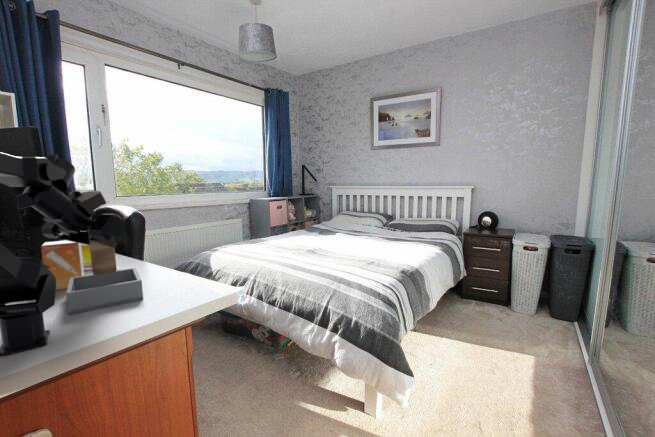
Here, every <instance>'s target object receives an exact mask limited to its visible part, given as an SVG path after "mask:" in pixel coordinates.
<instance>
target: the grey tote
mask: <svg viewBox="0 0 655 437" xmlns="http://www.w3.org/2000/svg"><path fill="white" fill-rule="evenodd" d="M65 295H66V302H67V308H68V315H75V314H80V313H84V312H88V311H94V310H99V309H105V308H108V307H109V308H110V307H113V306H118V305H123V304H128V303H133V302H137V301H142V300H144V291H143V281H142V279H141V277H140V274H139V272H138V270H137V269H136V267H131V268H124V269H119V270H117V271H115V272H113V273H109V274H103V275H94V274H93V273H91V274H87V275H85V274H84V276H79V277H72V278H70V280H69V284H68V288H66V294H65Z"/></svg>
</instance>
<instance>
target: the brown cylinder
mask: <svg viewBox="0 0 655 437" xmlns="http://www.w3.org/2000/svg"><path fill="white" fill-rule="evenodd" d="M88 236H89V245H90V254H91V263H92V270H91V271H92V274H94V275H103V274H109V273H113V272H115V271H117V268H116V267H117V260H116V250H115V249H116V248H115V247H110V246H107V245H104V244H100V243H97V242H93V241H90V239H91V236H90V234H89V229H88Z"/></svg>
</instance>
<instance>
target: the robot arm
mask: <svg viewBox="0 0 655 437" xmlns="http://www.w3.org/2000/svg"><path fill="white" fill-rule="evenodd" d="M75 172H76V168H75V166H74V165H73V164H72V163H71V162H69V161H67V160H65V159H63V158H62V157H61V158H60V157H59V155H58V154H57V153H55V154H54V153H53V154H51V153H50V154H48V153H47V154H46V155H45V156H41V157H40V156H15V155H11V154H8V153H5V152H2V151H0V184H3V185H5V186H8V187H11V188H20V187H21V188H22V187H23V188H25V189H24V190H23V193H20V194H17V195H16V200H17V202H16V206H17V209H19V210H23V209H26V208H29V207H31V208H33V209H34V210H35V211H37V212H39V213H40V214H41V215H43V216H44V217H43V218H42V220H43V221H45V223H44V224H43V225H42V227H41V228H40V230H41V234H42V235H43V236H44V237H46V238H48V239H58V238H59V240H60V241H63V240H67V241H72V242H77V243H82V244H87V245H89V236H88V229H89V234H90V236H91V239H90V241H93V242H97V243H100V244H104V245H107V246H110V247H114V248H116V247H117V246H118V243H117V241H116V239H115V237H114V234H116V231H117V229H118V228H119V227H120V226H121V224H122V222H124V220H123V218H122V217H121V216H120V215H119V214H118V213H101V214H99V215H98V217H97V218H91V217H94V216H95V214H96V213H97V212H96V211H95V210H96V209H99V208H100V207H101V206H104V205H106V204H107V201H106V198H105V197H104V196H103V194H102V192H101V191H100V190H98V191H97V190H96V191H95V190H93V191H91V190H89V191H83V192H81V191H79V190H73V191H70V192H69V193H67V195H68V196H67V195H66V194H64V191H67V190H68V188H69V186H70V183H71V181H72V179H73V177H74V175H75ZM59 236H60V237H59ZM49 268H50V266H47V265H45V264H44V262H43V259H42V258H40V257H38V256H32V257H18V256H16V255H15V254H14V253H13V252H11V250H10V249H8V248H7V247H6V246H5V245H4V244H2V243H1V242H0V337H1V344H0V357H1V356H6V355H10V354H15V353H17V352H23V351H27V350H31V349H34V348H38V347H43V346H45V345H48V340H49V338H50V334H51V330H50V329H46V330H45V321H44V315H43V313H44V312H46V311H48V310H49V309H51V308H52V307H54V306H55V303H56V292H57V290H56V278H55V276H54V275H53V274H52V272H51V271H50V270H49ZM30 301H32V302H30ZM21 302H22V303H21ZM23 302H24V303H23ZM13 303H14V304H13Z"/></svg>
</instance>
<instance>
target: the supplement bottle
mask: <svg viewBox="0 0 655 437" xmlns="http://www.w3.org/2000/svg"><path fill="white" fill-rule="evenodd" d="M81 249H82V258H83V267H84V271H92V263H91V254H90V245H87V244H82V243H81Z"/></svg>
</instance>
